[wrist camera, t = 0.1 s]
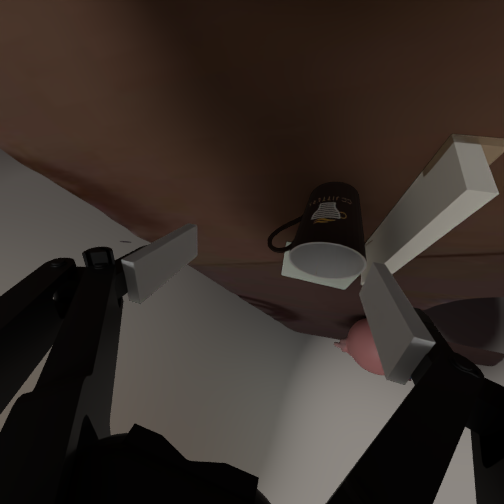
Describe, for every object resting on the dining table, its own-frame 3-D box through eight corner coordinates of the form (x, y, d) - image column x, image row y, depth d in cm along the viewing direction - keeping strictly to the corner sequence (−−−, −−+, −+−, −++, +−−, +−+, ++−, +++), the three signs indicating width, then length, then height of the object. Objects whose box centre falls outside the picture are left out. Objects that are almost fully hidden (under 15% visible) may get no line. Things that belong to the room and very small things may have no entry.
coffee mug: (383, 184, 25) (385, 256, 20) (350, 225, 32) (345, 284, 28) (288, 162, 26) (268, 225, 21) (277, 207, 33) (261, 261, 29)
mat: (286, 241, 41) (286, 243, 41) (373, 259, 38) (373, 260, 38) (281, 273, 55) (281, 274, 55) (344, 288, 52) (344, 289, 52)
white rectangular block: (451, 133, 19) (467, 189, 15) (504, 138, 18) (532, 198, 15) (362, 247, 36) (360, 284, 33) (387, 252, 35) (388, 290, 32)
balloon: (327, 307, 68) (322, 358, 61) (403, 312, 55) (406, 378, 48) (342, 321, 77) (339, 367, 70) (409, 329, 64) (413, 386, 57)
